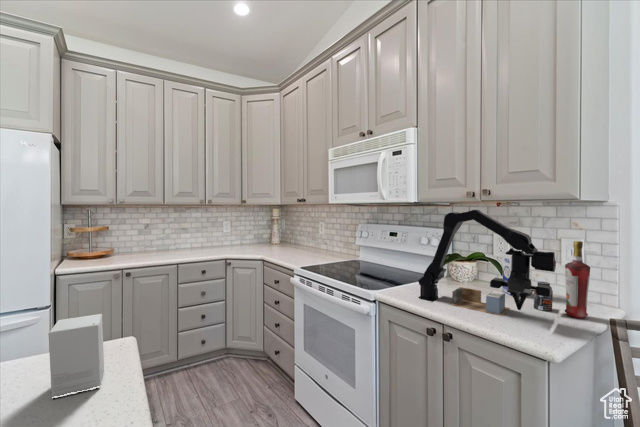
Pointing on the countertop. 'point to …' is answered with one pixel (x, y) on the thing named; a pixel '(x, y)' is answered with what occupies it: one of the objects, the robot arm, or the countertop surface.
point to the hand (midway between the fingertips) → (519, 309)
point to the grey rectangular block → (495, 302)
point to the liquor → (577, 284)
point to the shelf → (471, 300)
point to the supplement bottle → (543, 300)
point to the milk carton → (507, 270)
